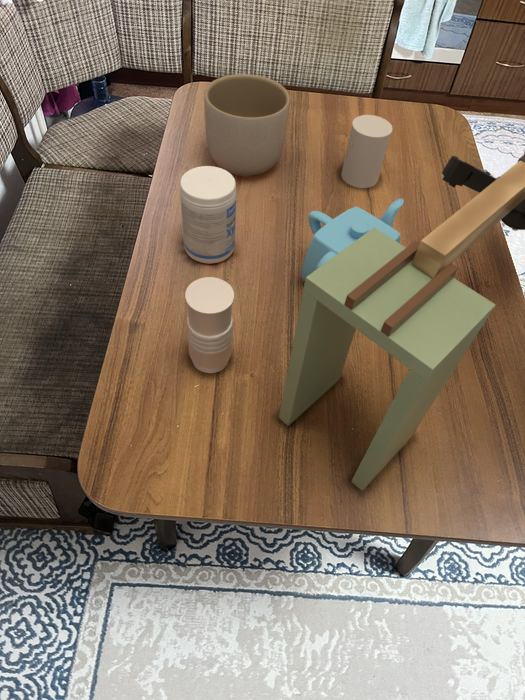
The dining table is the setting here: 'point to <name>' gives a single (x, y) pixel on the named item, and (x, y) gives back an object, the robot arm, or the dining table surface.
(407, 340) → the shelf stand
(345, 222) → the teapot
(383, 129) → the white cylinder
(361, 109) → the dining table surface
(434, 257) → the slide bar
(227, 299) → the candle
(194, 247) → the supplement tub
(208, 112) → the planter
